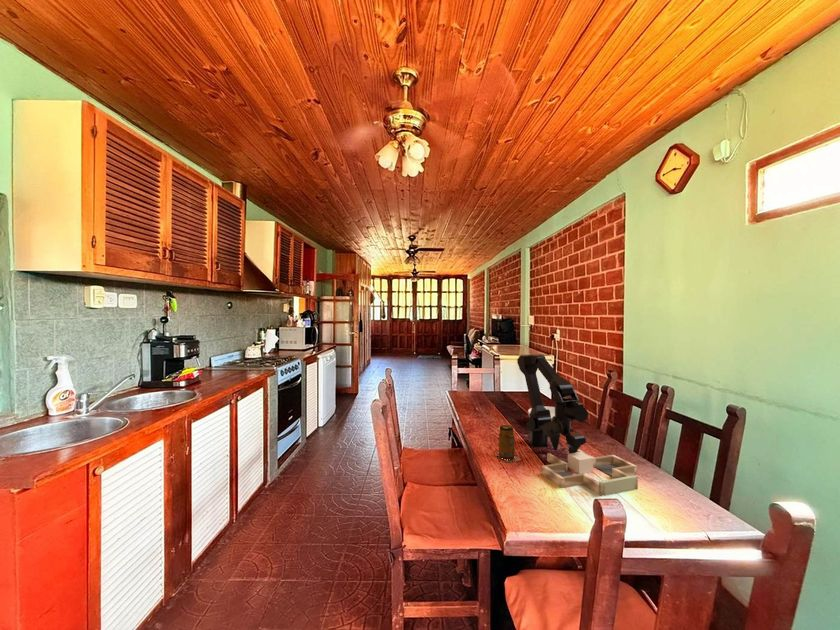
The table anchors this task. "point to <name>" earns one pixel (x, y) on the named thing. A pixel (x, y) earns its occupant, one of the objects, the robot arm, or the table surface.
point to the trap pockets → (567, 479)
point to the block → (580, 462)
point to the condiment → (507, 444)
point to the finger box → (607, 486)
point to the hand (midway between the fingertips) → (563, 454)
